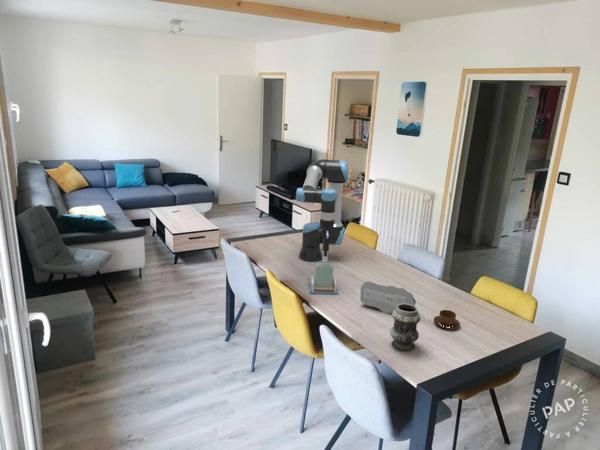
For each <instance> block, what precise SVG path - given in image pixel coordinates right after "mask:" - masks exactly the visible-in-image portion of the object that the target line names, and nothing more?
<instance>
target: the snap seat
mask: <svg viewBox="0 0 600 450" xmlns="http://www.w3.org/2000/svg"><path fill="white" fill-rule="evenodd" d="M314 290H331V291H334V289H333V285H332V288H327V287H315V281H314Z"/></svg>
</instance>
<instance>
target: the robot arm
mask: <svg viewBox="0 0 600 450" xmlns="http://www.w3.org/2000/svg"><path fill="white" fill-rule="evenodd" d="M320 179H326V181H327V183H328V185H329V186H328V188H326V189H320V188H319V189H317V187H318V184H319V181H320ZM347 181H349V165H348V162H347V160H346V161H345V160H341V159H325V158H324V159H318V160H316V161H313V162H312V163H310V165H309V166H308V167H307V169H306V177H305V180H304V183H303V186H302V187H297V189H296V191H295V198H296V201H297V202H301V203H311V204H320V212H319V215H320V220H319V222H318V221H312V222H311V221H310V222H307V223H305V224H303V227H302V242H301V248H300V251H299V252H298V258H299V259H300V260H302V261H305V262H319V261H321V262H323V263H328V261H329V260H328V257H329V256H328V255H329V250H330V245H331V246H341V245H342V243H343V240H344V234H345V230H346V228H345V227H344V225H343V223H342V222H341V220H342V208H343V207H342V206H343V192H344V191H343V190H344V186H345V184H346V183H347ZM321 244H322V249H321Z"/></svg>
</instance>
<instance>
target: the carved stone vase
mask: <svg viewBox="0 0 600 450" xmlns="http://www.w3.org/2000/svg"><path fill="white" fill-rule="evenodd" d="M391 315H392V318H393V320H394V321H393V326H392V327H391V328H390V330H389V331H390V332H389V334H390V337H391V338H392V339H393V340H391V346H392V347H393V348H394V349H395V350H398V351H402V352H411V351H413V350H414V349H415V348H416V347H415V346H416V345H415V343H414V342H416V341H417V340H418V339H419V335H420V334H419V331H418V330H417V328H418V327H417V326H418V324H419V322H421V319H422V318H421V314H420V313H419V312H418V308H417V306H416V305H415V306H414V305H411V304H399V305H398V306H397V309H395V310H394V311H393V313H391Z"/></svg>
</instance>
